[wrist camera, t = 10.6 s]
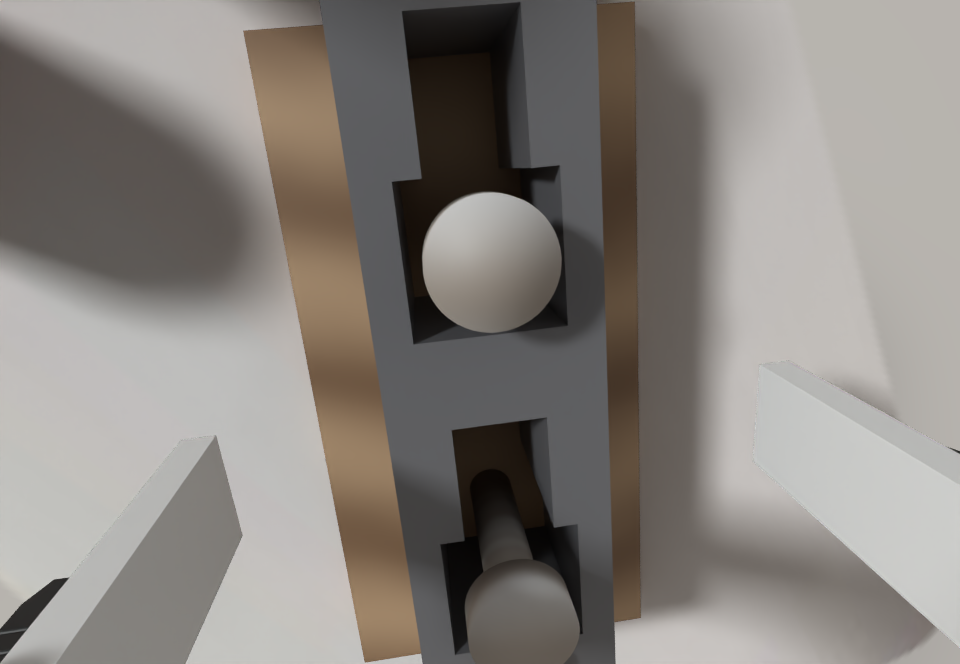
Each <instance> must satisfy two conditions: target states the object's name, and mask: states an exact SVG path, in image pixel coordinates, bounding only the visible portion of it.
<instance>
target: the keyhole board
mask: <svg viewBox="0 0 960 664" xmlns="http://www.w3.org/2000/svg"><path fill="white" fill-rule="evenodd" d="M243 32H244V37H245V42H246V47H247V53H248V58H249V63H250V68H251V73H252V79H253V84H254V89H255V94H256V99H257V105H258V110H259V115H260V120H261V125H262V131H263V136H264V141H265V146H266V151H267V156H268V162H269V167H270V172H271V177H272V182H273V188H274V193H275V198H276V203H277V208H278V214H279V219H280V224H281V229H282V234H283V240H284V245H285V250H286V255H287V260H288V266H289V271H290V276H291V281H292V286H293V292H294V297H295V302H296V307H297V312H298V318H299V323H300V328H301V333H302V338H303V344H304V349H305V354H306V359H307V364H308V370H309V375H310V380H311V385H312V390H313V396H314V401H315V406H316V411H317V416H318V422H319V427H320V432H321V437H322V442H323V448H324V453H325V458H326V463H327V468H328V474H329V479H330V484H331V489H332V494H333V500H334V505H335V510H336V515H337V520H338V525H339V531H340V536H341V541H342V546H343V551H344V557H345V562H346V567H347V572H348V577H349V583H350V588H351V593H352V598H353V603H354V609H355V614H356V619H357V624H358V629H359V635H360V640H361V645H362V650H363V655H364V661H365V662H371V661H377V660H383V659H390V658H396V657H402V656H408V655H414V654H420V653H421V649H420V642H419V636H418V629H417V623H416V617H415V610H414V604H413V597H412V591H411V584H410V578H409V572H408V565H407V559H406V552H405V546H404V540H403V533H402V527H401V520H400V514H399V508H398V501H397V495H396V488H395V482H394V476H393V469H392V463H391V456H390V450H389V444H388V437H387V431H386V424H385V418H384V412H383V405H382V399H381V392H380V386H379V380H378V373H377V367H376V360H375V354H374V348H373V341H372V335H371V328H370V322H369V316H368V309H367V303H366V296H365V290H364V284H363V277H362V271H361V264H360V258H359V252H358V245H357V239H356V232H355V226H354V220H353V213H352V207H351V200H350V194H349V188H348V181H347V175H346V168H345V162H344V156H343V149H342V143H341V136H340V130H339V124H338V117H337V111H336V104H335V98H334V92H333V85H332V79H331V72H330V66H329V60H328V53H327V47H326V40H325V34H324V28H323V25H315V26H301V27H288V28H275V29H261V30H248V31H243ZM597 37H598V72H599V107H600V142H601V177H602V212H603V247H604V282H605V317H606V352H607V387H608V422H609V457H610V492H611V527H612V561H613V596H614V622H618V621H624V620H630V619H637V618H641V609H640V506H639V403H638V300H637V196H636V93H635V2H623V3H610V4H597ZM407 60H408V68H409V76H410V85H411V93H412V102H413V110H414V118H415V127H416V135H417V144H418V152H419V161H420V169H421V177H422V179H415V180H404V181H400V189H401V197H402V204H403V212H404V220H405V227H406V235H407V243H408V250H409V258H410V266H411V273H412V281H413V289H414V297H419V296H428V295H430V297H431V299H432V300H433V302H434V303H435V305H436V306H437V307H438V308H439V310H440V311H441V312H442V313H443V314H444V315H445V316H446V317H448V318H449V319H450V320H452V321H453V322H455V323H456V324H458V325H460V326H462V327H464V328H467V329H470V330H473V331H478V332H486V333H495V332H503V331H508V330H511V329H514V328H517V327H519V326H521V325H523V324H525V323H527V322H528V321H530V320H532V319H533V318H534V317H535V316H537V315H538V314H539V313H540V312H541V311H542V310H543V309H544V308H545V306H546V305H547V304H548V302H549V301H550V299H551V298H552V296H553V294H554V292H555V290H556V288H557V285H558V282H559V278H560V274H561V264H562V257H561V249H560V245H559V241H558V238H557V236H556V233H555V231H554V229H553V227H552V226H551V224H550V222H549V221H548V220H547V218H546V217H545V216H544V215H543V214H542V213H541V212H540V211H539V210H538V209H536V208H535V207H534V206H533V205H531V204H529V203H528V202H526V201H524V200H522V192H521V178H520V168H499V163H498V151H497V138H496V126H495V113H494V101H493V88H492V76H491V63H490V52H486V53H474V54H462V55H450V56H437V57H425V58H413V59H407ZM452 438H453V447H454V455H455V463H456V472H457V480H458V489H459V497H460V506H461V514H462V522H463V531H464V538H466V537H473V536H478V541H479V547H480V554H481V560H482V566H483V573H482V574H481V575H480V576H479V577H478V578H477V579H476V580H475V581H474V583H473V584H472V586H471V587H470V589H469V591H468V593H467V596H466V600H465V616H466V625H467V635H468V644H469V650H470V653H471V656H472V658H473V660H474V661H475V663H476V664H564V663H565V662H566V661H567V659H568V658H569V657H570V656H571V654H572V653H573V651H574V650H575V648H576V646H577V643H578V640H579V634H580V626H579V621H578V617H577V614H576V612H575V609H574V606H573V603H572V600H571V598H570V595H569V592H568V589H567V586H566V584H565V582H564V580H563V578H562V577H561V575H560V574H559V573H558V572H557V571H556V570H554V569H553V568H552V567H550V566H549V565H547V564H545V563H542V562H539V561H536V560H533V557H532V554H531V551H530V547H529V544H528V541H527V537H526V534H525V530H524V529H527V528H533V527H540V526H545V524H544V510H543V497H542V495H541V492H540V489H539V487H538V484H537V481H536V479H535V476H534V474H533V471H532V468H531V466H530V463H529V460H528V458H527V455H526V453H525V450H524V447H523V445H522V442H521V439H520V427H519V421H516V422H508V423H501V424H493V425H486V426H478V427H471V428H463V429H456V430H452Z"/></svg>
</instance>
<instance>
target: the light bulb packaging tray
mask: <svg viewBox="0 0 960 664" xmlns="http://www.w3.org/2000/svg"><path fill="white" fill-rule="evenodd" d="M319 2H320V8H321V15H322V21H323V28H324V34H325V40H326V47H327V53H328V60H329V66H330V72H331V79H332V85H333V92H334V98H335V104H336V111H337V117H338V124H339V130H340V136H341V143H342V149H343V156H344V162H345V168H346V175H347V181H348V188H349V194H350V200H351V207H352V213H353V220H354V226H355V232H356V239H357V245H358V252H359V258H360V264H361V271H362V277H363V284H364V290H365V296H366V303H367V309H368V316H369V322H370V328H371V335H372V341H373V348H374V354H375V360H376V367H377V373H378V380H379V386H380V392H381V399H382V405H383V412H384V418H385V424H386V431H387V437H388V444H389V450H390V456H391V463H392V469H393V476H394V482H395V488H396V495H397V501H398V508H399V514H400V520H401V527H402V533H403V540H404V546H405V552H406V559H407V565H408V572H409V578H410V584H411V591H412V597H413V604H414V610H415V617H416V623H417V629H418V636H419V642H420V649H421V655H422V661H423V664H476V663H475V661H474V660H473V658H472V656H471V653H470V650H469V644H468V635H467V625H466V616H465V600H466V596H467V593H468V591H469V589H470V587H471V586H472V584H473V583H474V581H475V580H476V579H477V578H478V577H479V576H480V575H481V574H482V573H483V566H482V560H481V554H480V547H479V541H478V536H473V537H466V538H464V531H463V522H462V514H461V506H460V497H459V489H458V480H457V472H456V463H455V455H454V447H453V438H452V430H456V429H463V428H471V427H478V426H486V425H493V424H501V423H508V422H516V421H519V427H520V439H521V442H522V445H523V447H524V450H525V453H526V455H527V458H528V460H529V463H530V466H531V468H532V471H533V474H534V476H535V479H536V481H537V484H538V487H539V489H540V492H541V495H542V497H543V510H544V524H545V526H540V527H533V528H527V529H524V530H525V534H526V537H527V541H528V544H529V547H530V551H531V554H532V557H533V560H536V561H539V562H542V563H545V564H547V565H549V566H550V567H552V568H553V569H554V570H556V571H557V572H558V573H559V574H560V575H561V577H562V578H563V580H564V582H565V584H566V586H567V589H568V592H569V595H570V598H571V600H572V603H573V606H574V609H575V612H576V614H577V617H578V621H579V626H580V634H579V640H578V643H577V646H576V648H575V650H574V651H573V653H572V654H571V656H570V657H569V658H568V659H567V661H566V662H565V663H564V664H615V631H614V596H613V561H612V527H611V492H610V457H609V422H608V387H607V352H606V317H605V282H604V247H603V212H602V177H601V142H600V107H599V72H598V37H597V2H596V0H319ZM486 52H490V63H491V76H492V88H493V101H494V113H495V126H496V138H497V151H498V163H499V168H520V178H521V192H522V200H524V201H526V202H528V203H529V204H531V205H533V206H534V207H535V208H536V209H538V210H539V211H540V212H541V213H542V214H543V215H544V216H545V217H546V218H547V220H548V221H549V222H550V224H551V226H552V227H553V229H554V231H555V233H556V236H557V238H558V241H559V245H560V249H561V257H562V264H561V274H560V278H559V282H558V285H557V288H556V290H555V292H554V294H553V296H552V298H551V299H550V301H549V302H548V304H547V305H546V306H545V308H544V309H543V310H542V311H541V312H540V313H539V314H538V315H537V316H535V317H534V318H533V319H532V320H530V321H528V322H527V323H525V324H523V325H521V326H519V327H517V328H514V329H511V330H508V331H503V332H495V333H486V332H478V331H473V330H470V329H467V328H464V327H462V326H460V325H458V324H456V323H455V322H453V321H452V320H450V319H449V318H448V317H446V316H445V315H444V314H443V313H442V312H441V311H440V310H439V308H438V307H437V306H436V305H435V303H434V302H433V300H432V299H431V297H430V295H428V296H419V297H414V289H413V281H412V273H411V266H410V258H409V250H408V243H407V235H406V227H405V220H404V212H403V204H402V197H401V189H400V181H404V180H415V179H422V177H421V169H420V161H419V152H418V144H417V135H416V127H415V118H414V110H413V102H412V93H411V85H410V76H409V68H408V60H407V59H413V58H425V57H437V56H450V55H462V54H474V53H486Z"/></svg>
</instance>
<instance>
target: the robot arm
mask: <svg viewBox="0 0 960 664" xmlns="http://www.w3.org/2000/svg"><path fill="white" fill-rule="evenodd" d="M753 462H754V463H755V464H756V465H757V466H758V467H759V468H760V469H762V470H763V471H764V472H765V473H766V474H767V475H768V476H769V477H770V478H771V479H773V480H774V481H775V482H776V483H777V484H778V485H779V486H780V487H781V488H783V489H784V490H785V491H786V492H787V493H788V494H789V495H790V496H791V497H793V498H794V499H795V500H796V501H797V502H798V503H799V504H800V505H801V506H803V507H804V508H805V509H806V510H807V511H808V512H809V513H810V514H811V515H813V516H814V517H815V518H816V519H817V520H818V521H819V522H820V523H821V524H822V525H824V526H825V527H826V528H827V529H828V530H829V531H830V532H831V533H832V534H834V535H835V536H836V537H837V538H838V539H839V540H840V541H841V542H842V543H844V544H845V545H846V546H847V547H848V548H849V549H850V550H851V551H852V552H854V553H855V554H856V555H857V556H858V557H859V558H860V559H861V560H862V561H864V562H865V563H866V564H867V565H868V566H869V567H870V568H871V569H872V570H873V571H875V572H876V573H877V574H878V575H879V576H880V577H881V578H882V579H883V580H885V581H886V582H887V583H888V584H889V585H890V586H891V587H892V588H893V589H895V590H896V591H897V592H898V593H899V594H900V595H901V596H902V597H903V598H905V599H906V600H907V601H908V602H909V603H910V604H911V605H912V606H913V607H915V608H916V609H917V610H918V611H919V612H920V613H921V614H922V615H923V616H924V617H926V618H927V619H928V620H929V621H930V622H931V623H932V624H933V625H934V626H936V627H937V628H938V629H939V630H940V631H941V632H942V633H943V634H945V635H946V636H947V637H948V638H949V639H950V640H951V641H952V642H953V643H954V644H956V645H957V646H958V647H959V648H960V451H957V450H955V449H952V448H949V447H946V446H944V445H942V444H941V443H939V442H937V441H935V440H933V439H931V438H930V437H928V436H926V435H924V434H922V433H920V432H919V431H917V430H915V429H913V428H911V427H909V426H908V425H906V424H904V423H902V422H900V421H898V420H897V419H895V418H893V417H891V416H889V415H888V414H886V413H884V412H882V411H880V410H878V409H877V408H875V407H873V406H871V405H869V404H867V403H866V402H864V401H862V400H860V399H858V398H856V397H855V396H853V395H851V394H849V393H847V392H845V391H844V390H842V389H840V388H838V387H836V386H834V385H833V384H831V383H829V382H827V381H825V380H823V379H822V378H820V377H818V376H816V375H814V374H813V373H811V372H809V371H807V370H805V369H803V368H802V367H800V366H798V365H796V364H794V363H792V362H791V361H781V362H774V363H766V364H760V366H759V380H758V394H757V408H756V421H755V435H754V449H753ZM242 536H243V535H242V532H241V528H240V524H239V520H238V517H237V513H236V509H235V505H234V501H233V498H232V494H231V490H230V486H229V483H228V479H227V475H226V471H225V468H224V464H223V460H222V456H221V452H220V449H219V445H218V441H217V437H216V435H214V436H207V437H199V438H191V439H184V440H181V441H180V442H179V443H178V445H177V446H176V447H175V448H174V450H173V451H172V452H171V453H170V454H169V456H168V457H167V458H166V459H165V461H164V462H163V463H162V464H161V466H160V467H159V468H158V469H157V470H156V472H155V473H154V474H153V475H152V477H151V478H150V479H149V480H148V482H147V483H146V484H145V485H144V486H143V488H142V489H141V490H140V491H139V493H138V494H137V495H136V496H135V498H134V499H133V500H132V501H131V502H130V504H129V505H128V506H127V507H126V509H125V510H124V511H123V512H122V514H121V515H120V516H119V517H118V518H117V520H116V521H115V522H114V523H113V525H112V526H111V527H110V528H109V530H108V531H107V532H106V533H105V534H104V536H103V537H102V538H101V539H100V541H99V542H98V543H97V544H96V546H95V547H94V548H93V549H92V550H91V552H90V553H89V554H88V555H87V557H86V558H85V559H84V560H83V562H82V563H81V564H80V565H79V567H78V568H77V569H76V570H75V571H74V573H73V574H72V575H71V576H70V577H69V578H62V579H56V580H53V581H52V582H50V583H49V584H48V585H46V586H45V587H44V588H42V589H41V590H40V591H39V592H37V593H36V594H35V595H33V596H32V597H31V598H29V599H28V600H27V601H25V602H24V603H23V604H22V605H21V606H20V607H19V608H18V609H17V611H15V613H14V614H13V615H12V616H11V617H10V618H9V620H8V621H7V622H6V623H5V624H4V625H3V626H2V628H1V629H0V664H185V663H186V661H187V659H188V656H189V654H190V652H191V650H192V647H193V645H194V643H195V641H196V638H197V636H198V634H199V632H200V630H201V627H202V625H203V623H204V621H205V618H206V616H207V614H208V612H209V609H210V607H211V605H212V603H213V600H214V598H215V596H216V594H217V592H218V589H219V587H220V585H221V583H222V580H223V578H224V576H225V574H226V571H227V569H228V567H229V565H230V562H231V560H232V558H233V556H234V553H235V551H236V549H237V547H238V545H239V542H240V540H241V538H242Z"/></svg>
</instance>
